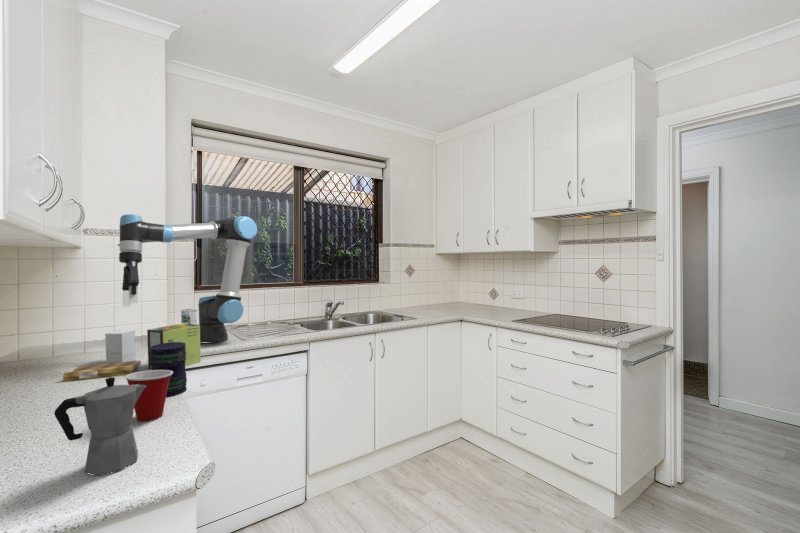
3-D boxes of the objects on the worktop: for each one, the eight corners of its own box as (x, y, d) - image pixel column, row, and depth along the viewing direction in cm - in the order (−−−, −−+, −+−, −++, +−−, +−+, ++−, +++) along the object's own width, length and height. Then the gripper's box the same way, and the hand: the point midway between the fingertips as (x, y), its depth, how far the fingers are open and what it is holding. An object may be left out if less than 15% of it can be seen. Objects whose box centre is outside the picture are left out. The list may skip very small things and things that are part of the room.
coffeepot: (139, 444, 88) (137, 366, 87) (157, 457, 82) (155, 373, 82) (50, 476, 75) (47, 384, 75) (64, 493, 70) (61, 394, 69)
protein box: (201, 362, 157) (200, 324, 157) (163, 372, 144) (162, 331, 143) (185, 359, 162) (184, 322, 162) (147, 368, 149) (146, 329, 148)
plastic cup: (183, 411, 107) (182, 368, 106) (147, 427, 96) (146, 380, 96) (153, 407, 110) (152, 365, 109) (115, 422, 99) (114, 377, 99)
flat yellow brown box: (140, 364, 155) (140, 356, 155) (132, 374, 141) (132, 366, 141) (78, 370, 147) (78, 362, 147) (63, 382, 133) (62, 373, 133)
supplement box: (136, 359, 162) (135, 330, 162) (122, 364, 155) (121, 333, 155) (120, 359, 163) (119, 329, 163) (105, 364, 156) (104, 333, 155)
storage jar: (187, 393, 120) (186, 346, 120) (150, 400, 115) (149, 350, 115) (186, 385, 129) (185, 340, 128) (151, 390, 124) (150, 344, 123)
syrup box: (180, 335, 212) (180, 309, 212) (189, 333, 218) (189, 308, 217) (189, 336, 210) (188, 310, 210) (197, 334, 216) (197, 308, 216)
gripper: (114, 257, 162) (113, 307, 159) (124, 245, 144) (123, 302, 141) (135, 258, 167) (135, 307, 164) (148, 247, 150) (147, 301, 147)
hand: (129, 305), depth 153 cm, fingers open, 13 cm apart
